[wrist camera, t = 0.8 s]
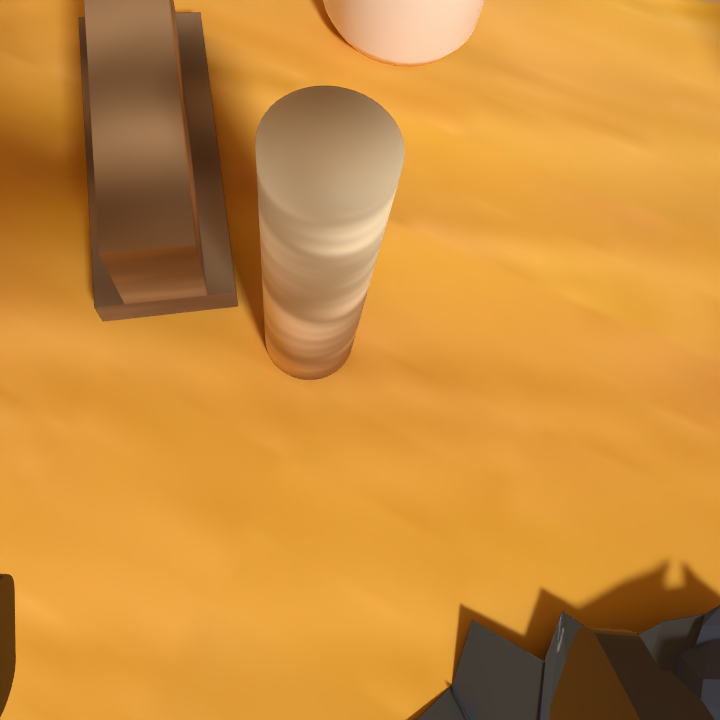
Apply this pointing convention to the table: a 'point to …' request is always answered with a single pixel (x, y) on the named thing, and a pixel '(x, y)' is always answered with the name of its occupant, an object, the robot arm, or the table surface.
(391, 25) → the alcohol
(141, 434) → the table surface
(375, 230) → the dowel
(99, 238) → the brown block
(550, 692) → the decorative bat
